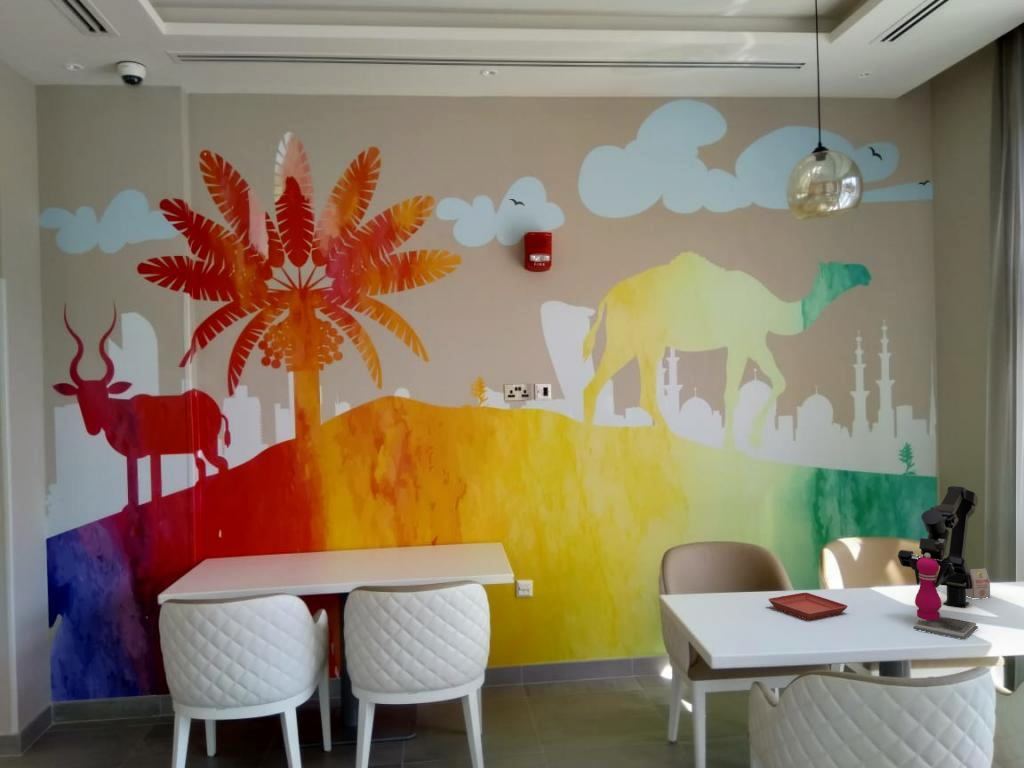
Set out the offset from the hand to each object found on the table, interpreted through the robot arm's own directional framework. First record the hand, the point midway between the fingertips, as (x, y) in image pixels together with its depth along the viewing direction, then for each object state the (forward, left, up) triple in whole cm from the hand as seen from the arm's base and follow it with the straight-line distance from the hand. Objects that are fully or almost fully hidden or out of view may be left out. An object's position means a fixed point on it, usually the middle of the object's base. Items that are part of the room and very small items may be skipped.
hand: (926, 585), depth 238 cm
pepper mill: (-1, 0, -10) cm, 10 cm away
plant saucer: (+7, -34, -14) cm, 38 cm away
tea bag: (-47, +3, -13) cm, 49 cm away
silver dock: (-2, +5, -13) cm, 14 cm away
